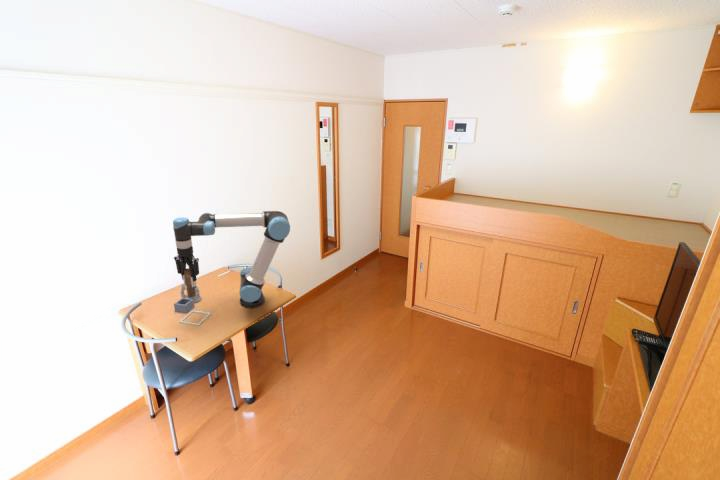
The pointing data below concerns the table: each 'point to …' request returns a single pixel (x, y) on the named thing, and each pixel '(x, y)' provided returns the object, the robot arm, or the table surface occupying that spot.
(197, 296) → the mug
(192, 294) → the dowel
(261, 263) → the robot arm
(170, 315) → the table surface
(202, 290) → the table surface
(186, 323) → the tray
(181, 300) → the grey open box
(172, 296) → the table surface
